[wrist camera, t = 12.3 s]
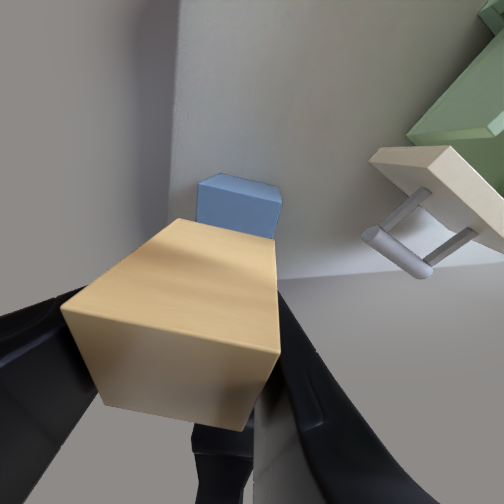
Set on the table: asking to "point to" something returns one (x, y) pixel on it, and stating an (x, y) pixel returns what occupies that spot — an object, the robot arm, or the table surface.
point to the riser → (238, 205)
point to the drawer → (452, 166)
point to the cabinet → (493, 15)
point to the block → (183, 325)
